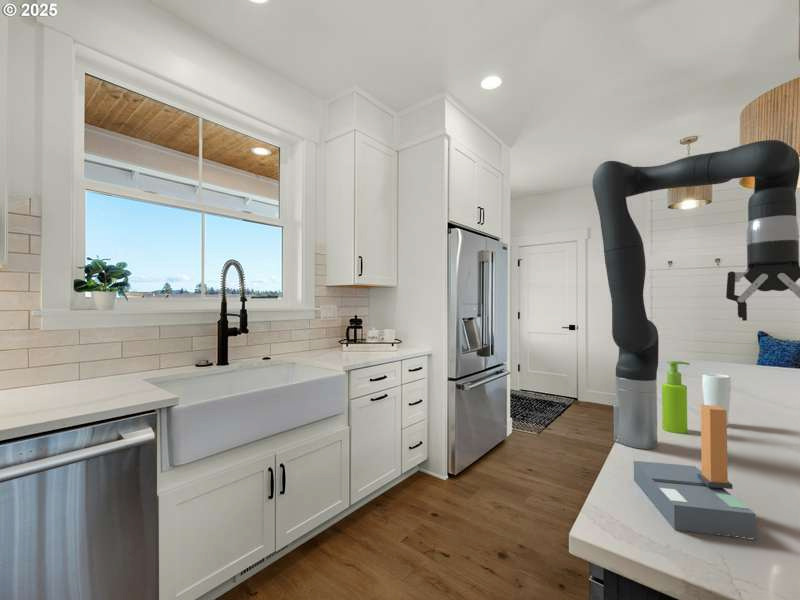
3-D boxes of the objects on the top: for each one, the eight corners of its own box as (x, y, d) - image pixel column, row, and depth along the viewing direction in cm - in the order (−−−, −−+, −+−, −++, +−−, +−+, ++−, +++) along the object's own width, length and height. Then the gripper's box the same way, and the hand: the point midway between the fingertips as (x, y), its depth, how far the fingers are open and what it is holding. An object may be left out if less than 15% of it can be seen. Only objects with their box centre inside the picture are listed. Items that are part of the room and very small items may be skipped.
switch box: (695, 486, 76) (694, 465, 76) (755, 539, 59) (755, 513, 59) (633, 480, 79) (633, 460, 79) (674, 529, 61) (674, 504, 61)
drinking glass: (702, 419, 120) (702, 372, 121) (730, 424, 116) (730, 374, 116) (702, 425, 115) (701, 375, 115) (731, 429, 111) (731, 378, 111)
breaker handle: (720, 479, 69) (719, 405, 69) (732, 489, 65) (731, 410, 66) (697, 477, 70) (696, 404, 70) (708, 486, 66) (707, 409, 67)
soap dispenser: (696, 433, 107) (695, 362, 108) (671, 433, 107) (670, 362, 108) (681, 427, 113) (680, 360, 113) (657, 426, 113) (657, 359, 114)
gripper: (724, 243, 79) (725, 320, 79) (826, 234, 69) (828, 322, 69) (727, 247, 85) (728, 319, 84) (822, 239, 75) (823, 321, 75)
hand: (773, 321), depth 77 cm, fingers open, 8 cm apart
